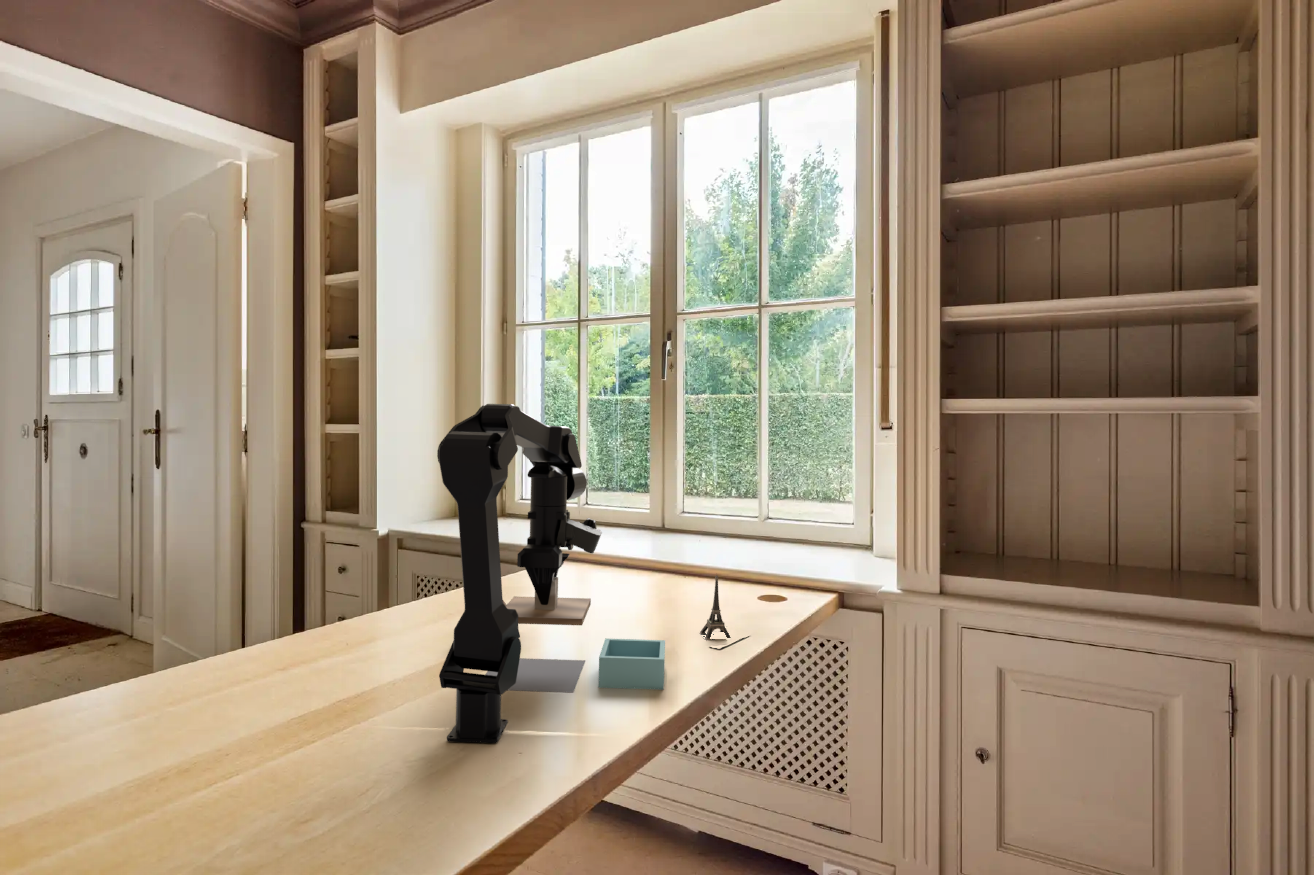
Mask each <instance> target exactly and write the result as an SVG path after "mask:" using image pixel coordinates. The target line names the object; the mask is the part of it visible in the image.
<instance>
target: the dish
mask: <svg viewBox="0 0 1314 875" xmlns="http://www.w3.org/2000/svg"><path fill="white" fill-rule="evenodd" d="M665 658H666V640H665V639H663V640H662V639H636V638H635V639H634V638H633V639H632V638H631V639H630V638H605V639H604V642H603V644H602V648H601V651H600V652H599V657H598V687H597V688H600V689H601V688H603V689H604V688H605V689H606V688H607V689H631V690H632V689H633V690H634V689H635V690H661V691H662V690H663V691H664V687H665V663H666V662H665V661H666V659H665Z"/></svg>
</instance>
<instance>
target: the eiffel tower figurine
mask: <svg viewBox="0 0 1314 875" xmlns="http://www.w3.org/2000/svg"><path fill="white" fill-rule="evenodd" d="M714 580H715V582H714V592H713V593H714V595H713V603H712V608H711V612H710V614H709V618H708V619H707V620H706V623H705V624H704V626H703V627H702V629H701V630H700V631H699V632H700V633H699V634H700V636H701V635H706V637H705V636H703V637H705V639H704V640H706V641H716V640H715V639H713V640H711V639H710V637H711V634H712V632H715V630H718V629H719V632H724V633H725V635H726V637H727V638H731V637H730V635H729V633H728V632H729V631H728V630H727V628H725V626H726V625H725V621H723V618H722V614H721V611H722V610H721V609H720V600H719V576H718V574H716V575H715V578H714ZM705 632H707V634H706V633H705ZM713 635H714V634H713ZM703 637H702V638H703Z"/></svg>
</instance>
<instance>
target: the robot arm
mask: <svg viewBox="0 0 1314 875" xmlns="http://www.w3.org/2000/svg"><path fill="white" fill-rule="evenodd" d="M518 447H521V448H522V452H521V453H522V454H523V456H524V457H525V458H527V459H528V460H529V462H530V463H531V465H532V466H533V467H532V468H530V469H529V471H528V472H527V477H528V478H530V503H529V504H530V505H529V506H530V507H529V508H530V509H529V511H528V512H527V520H529V536H528V537H527V538H526V546H524V547H523V548H522V549H521V550H520V551H519V552H518V553H517V559H516V560H517V561H516V562H517V563H516V564H517V565H516V566H517V567H519V568H525V571H526V572H527V575H528V577H529V579H530V582H531V583H532V586H533V589H534V592H535V591H536V594H537V596H538V598H539V601H540V603H541V605H548V603H549V598H550V593H551V588H552V583H553V577H558V573H559V571H560V568H561V567H562V566H563V565H564V563H565V561H566V560H567V559H568V558H569V557H570V554H571V553H566V552H565V553H563V550H562V549H561V548H567V550H568V551H572V550H573V549H574V546H575V547H576V548H579V549H582V550H583V551H584V552H586V553H589V554H594V553H595V551H596V550H597V546H598V544H599V541H600V538H601V536H602V534H603V532H602V531H601V529H599V528H598V527H597V521H596V520H595V519H593V518H589V517H588V518H587V517H586V519H585V520H584V521H582V522H581V521H576V520H573V519H570V518H571V512H570V511H569V509H567V505H568V504H567V501H569V500H573V499H577V498H579V497H581V496H582V495H583V494H584V493H585V491H586V489H587V485H588V480H587V477H586V474H585V473H584V472H583V470H582V469H581V467H582V460H581V456H580V452H579V448H578V447H579V446H578V444H577V439H576V435H575V434H573V431H572V429H571V428H570V427H569V426H563V425H562V426H561V425H547V424H545V423H544V422H542V421H540V420H538V419H535V418H534V417H532V416H531V415H529V414H527V413H525V412H524V411H522V410H521V408H520V407H519V406H518V405H515V404H512V403H510V404H509V403H487V404H485V405H481V406H480V407H479V409H478V410H477V411H476V412H475V414H473V415H471V416H469V417H467V418H466V419H464V420H461V421H460V422H458V423H456V424H454V425H453V426H452V428H451V429H450V430H449V431H448V432H447V434H446V435H445V436H444V438H442V440H441V441H440V442H439V444H438V447H437V461H438V463H439V468H440V470H439V471H440V475H441V479H442V483H443V485H444V487H445V488H446V490H447V491H448V492H449V494H450V495H451V497H452V498H453V499H454V500H455V502H456V505H457V514H458V515H457V516H458V529H459V530H458V531H459V543H460V559H461V569H462V570H461V573H462V586H463V589H462V590H463V600H464V602H463V604H464V610H463V613H462V614H461V616H460V618H459V620H458V621H457V623H456V626H455V627H454V629H453V641H452V643H451V646H450V648H449V650H448V652H447V656H446V657H445V660H444V662H443V665H442V666H441V669H440V672H439V677H438V678H439V682H440V686H441V688H442V689H454V690H456V692H455V693H456V696H455V698H456V699H455V701H456V702H455V724H454V726H453V727H452V729H451V731H450V732H449V733H448V734H447V736H446V742H455V743H458V742H459V743H479V744H480V743H484V744H485V743H486V744H487V743H488V744H496V743H498V742H499V740H500V738H501V736H502V735H503V733H504V731H505V728H506V727H507V725H508V723H509V720H508V719H507V718H504V719H503V718H501V717H502V716H501V713H502V711H501V710H502V695H503V694H505V692H507V690H508V689H509V688H510V687H512V686H513V685H514V684H515V683H516V679H517V672H518V666H519V660H520V658H521V652H522V641H521V639H520V638H521V634H520V630H519V624H518V614H517V612H516V610H515V609H507V607H506V606H505V605H504V603H503V601H504V599H503V585H502V584H503V582H502V568H501V554H500V552H501V551H500V550H501V549H500V536H499V519H498V518H499V517H498V505H497V503H498V502H497V497H498V495H499V494H500V492H501V490H502V488H503V486H504V485H505V483H506V481H507V480H508V477H509V476H508V475H509V465H510V463H511V462H512V460H513V459H514V457H515V456H516V455H517V453H518V450H519V448H518ZM597 528H598V529H597ZM465 669H466V670H474V671H475V670H476V671H482V672H483V671H484V672H487V671H491V672H498V674H497V676H492V675H485V674H483V673H482V674H481V673H474V672H466V671H464V670H465Z"/></svg>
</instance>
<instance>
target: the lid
mask: <svg viewBox="0 0 1314 875" xmlns="http://www.w3.org/2000/svg"><path fill="white" fill-rule="evenodd" d="M558 595H559V576H557V577H553V583H552V588H551V593H550V598H549V603H548V605H541V603H540V601H539V598H538V596H537V594H536V591H535V590H534V596H515V595H514V596H513V597H512V598H511V599H510V600H509V601H508V602H507V603H506V607H507V609H515V610H516V612H517V614H518V625H520V624H521V625H550V626H551V625H552V626H553V625H554V626H560V625H561V626H583V624H584V621H585V620H586V616H587V615H588V612H589V609H590V607H591V604H592V603H591V601H592V600H591V598H590V597H589V598H588V597H587V598H584V597H582V598H580V597H559V596H558Z"/></svg>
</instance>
